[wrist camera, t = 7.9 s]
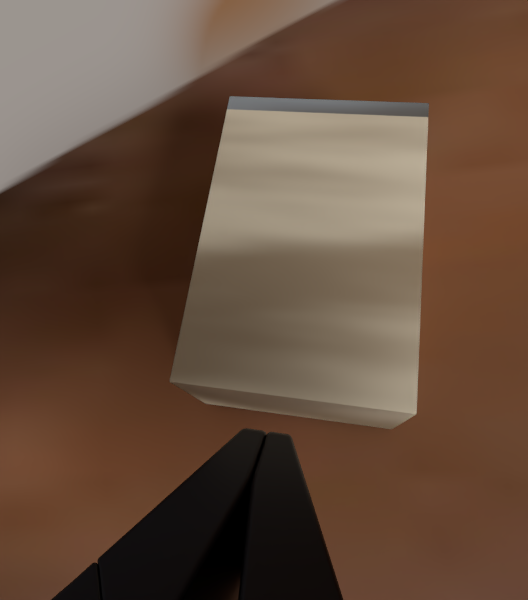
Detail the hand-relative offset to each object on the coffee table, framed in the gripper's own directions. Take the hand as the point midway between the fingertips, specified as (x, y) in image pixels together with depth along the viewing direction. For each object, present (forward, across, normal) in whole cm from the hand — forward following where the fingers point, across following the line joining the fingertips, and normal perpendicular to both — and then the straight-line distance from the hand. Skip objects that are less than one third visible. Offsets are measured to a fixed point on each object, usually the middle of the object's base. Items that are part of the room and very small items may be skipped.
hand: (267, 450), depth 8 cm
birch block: (+4, 0, +2) cm, 5 cm away
